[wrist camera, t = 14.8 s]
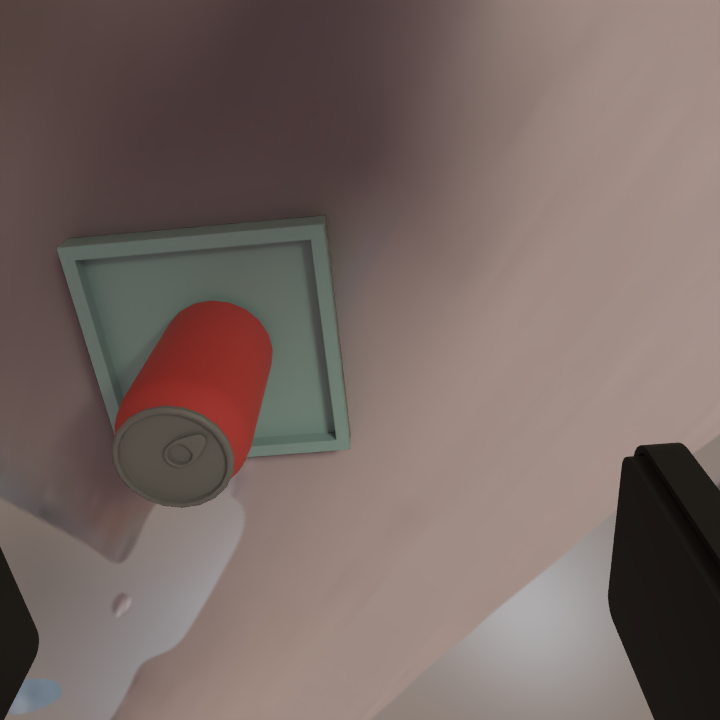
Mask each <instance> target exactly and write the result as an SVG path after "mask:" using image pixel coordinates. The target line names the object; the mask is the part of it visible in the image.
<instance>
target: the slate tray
mask: <svg viewBox="0 0 720 720" xmlns="http://www.w3.org/2000/svg"><path fill="white" fill-rule="evenodd" d="M57 251H58V255H59V258H60V261H61V264H62V268H63V271H64V274H65V277H66V280H67V284H68V287H69V290H70V293H71V297H72V300H73V303H74V306H75V310H76V313H77V316H78V319H79V322H80V326H81V329H82V332H83V335H84V339H85V342H86V345H87V348H88V352H89V355H90V358H91V361H92V364H93V368H94V371H95V374H96V377H97V381H98V384H99V387H100V390H101V394H102V397H103V400H104V403H105V406H106V410H107V413H108V416H109V419H110V423H111V426H112V429H113V432H114V436H115V430H114V425H115V420H116V416H117V413H118V410H119V407H120V405H121V402H122V400H123V398H124V396H125V395H126V393H127V392H128V390H129V388H130V387H131V385H132V384H133V382H134V380H135V379H136V377H137V375H138V374H139V372H140V371H141V369H142V367H143V366H144V364H145V362H146V361H147V359H148V358H149V356H150V354H151V353H152V351H153V349H154V348H155V346H156V345H157V343H158V341H159V340H160V338H161V337H162V335H163V333H164V332H165V330H166V328H167V327H168V325H169V324H170V322H171V321H172V320H173V319H174V318H175V317H176V315H177V314H178V313H179V312H180V311H182V310H184V309H185V308H187V307H189V306H191V305H193V304H195V303H200V302H206V301H211V300H212V301H221V302H229V303H232V304H234V305H237V306H239V307H241V308H244V309H246V310H247V311H248V312H249V313H251V314H252V315H253V316H254V317H256V318H257V319H258V320H259V321H260V322H261V324H262V325H263V327H264V328H265V330H266V331H267V333H268V334H269V338H270V341H271V345H272V349H273V352H272V365H271V369H270V373H269V377H268V381H267V385H266V389H265V393H264V397H263V401H262V405H261V409H260V413H259V417H258V421H257V425H256V429H255V433H254V437H253V441H252V445H251V449H250V451H249V453H248V455H247V457H256V456H269V455H283V454H296V453H309V452H322V451H335V450H348V449H350V426H349V417H348V409H347V400H346V391H345V383H344V374H343V366H342V357H341V348H340V340H339V331H338V323H337V314H336V305H335V297H334V288H333V280H332V271H331V263H330V254H329V245H328V237H327V228H326V220H325V215H323V216H312V217H301V218H290V219H279V220H268V221H257V222H246V223H235V224H224V225H213V226H202V227H191V228H180V229H169V230H157V231H146V232H135V233H124V234H113V235H102V236H91V237H80V238H69V239H68V240H66V241H65V242H64V243H62V244H61V245H60V246H58V247H57Z"/></svg>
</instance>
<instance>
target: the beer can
mask: <svg viewBox="0 0 720 720" xmlns="http://www.w3.org/2000/svg"><path fill="white" fill-rule="evenodd" d="M272 352H273V349H272V345H271V341H270V338H269V334H268V333H267V331H266V330H265V328H264V327H263V325H262V324H261V322H260V321H259V320H258V319H257V318H256V317H254V316H253V315H252V314H251V313H249V312H248V311H247V310H246V309H244V308H241V307H239V306H237V305H234V304H232V303H229V302H221V301H212V300H211V301H206V302H200V303H195V304H193V305H191V306H189V307H187V308H185V309H184V310H182V311H180V312H179V313H178V314H177V315H176V317H175V318H174V319H173V320H172V321H171V322H170V324H169V325H168V327H167V328H166V330H165V332H164V333H163V335H162V337H161V338H160V340H159V341H158V343H157V345H156V346H155V348H154V349H153V351H152V353H151V354H150V356H149V358H148V359H147V361H146V362H145V364H144V366H143V367H142V369H141V371H140V372H139V374H138V375H137V377H136V379H135V380H134V382H133V384H132V385H131V387H130V388H129V390H128V392H127V393H126V395H125V396H124V398H123V400H122V402H121V405H120V407H119V410H118V413H117V416H116V420H115V425H114V430H115V438H114V441H113V444H112V459H113V463H114V466H115V468H116V470H117V472H118V475H119V477H120V478H121V479H122V480H123V481H124V482H125V483H126V485H127V486H128V487H129V488H130V489H131V490H132V491H134V492H135V493H137V494H138V495H140V496H141V497H143V498H144V499H146V500H149V501H152V502H154V503H157V504H160V505H163V506H171V507H181V508H182V507H189V506H196V505H201V504H203V503H205V502H207V501H209V500H212V499H214V498H215V497H216V496H217V495H219V494H220V493H221V492H222V491H223V490H224V489H225V488H226V487H227V485H228V483H229V481H230V479H231V478H232V477H233V476H234V475H235V474H236V473H237V472H238V471H239V470H240V468H241V467H242V465H243V464H244V462H245V460H246V457H247V455H248V453H249V451H250V449H251V445H252V441H253V437H254V433H255V429H256V425H257V421H258V417H259V413H260V409H261V405H262V401H263V397H264V393H265V389H266V385H267V381H268V377H269V373H270V369H271V365H272Z"/></svg>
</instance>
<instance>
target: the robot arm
mask: <svg viewBox="0 0 720 720" xmlns="http://www.w3.org/2000/svg"><path fill="white" fill-rule="evenodd" d="M608 601H609V608H610V613H611V616H612V619H613V622H614V624H615V627H616V629H617V632H618V634H619V636H620V639H621V641H622V644H623V646H624V648H625V651H626V653H627V656H628V658H629V660H630V663H631V665H632V668H633V670H634V672H635V674H636V677H637V679H638V682H639V684H640V687H641V689H642V691H643V694H644V696H645V699H646V701H647V703H648V706H649V708H650V710H651V713H652V715H653V717H654V720H720V491H719V489H718V488H717V487H716V485H715V484H714V483H713V481H712V480H711V479H710V477H709V476H708V475H707V474H706V472H705V471H704V470H703V468H702V467H701V466H700V464H699V463H698V462H697V460H696V459H695V458H694V456H693V455H692V454H691V452H690V451H689V450H688V449H687V447H686V446H685V445H683V444H682V443H667V444H654V445H641V446H639V447H637V449H636V451H635V454H634V456H632V457H626V458H624V460H623V463H622V470H621V479H620V488H619V497H618V507H617V516H616V525H615V534H614V544H613V553H612V562H611V572H610V581H609V590H608ZM38 645H39V636H38V632H37V629H36V627H35V624H34V622H33V620H32V617H31V615H30V613H29V611H28V608H27V606H26V604H25V602H24V599H23V597H22V595H21V593H20V591H19V588H18V586H17V584H16V582H15V579H14V577H13V575H12V572H11V570H10V568H9V566H8V563H7V561H6V559H5V557H4V554H3V552H2V550H1V548H0V720H4V719H5V716H6V715H7V713H8V711H9V709H10V707H11V705H12V703H13V701H14V699H15V697H16V695H17V693H18V691H19V689H20V687H21V685H22V683H23V681H24V679H25V677H26V675H27V673H28V671H29V669H30V667H31V665H32V663H33V661H34V659H35V657H36V654H37V651H38Z"/></svg>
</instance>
